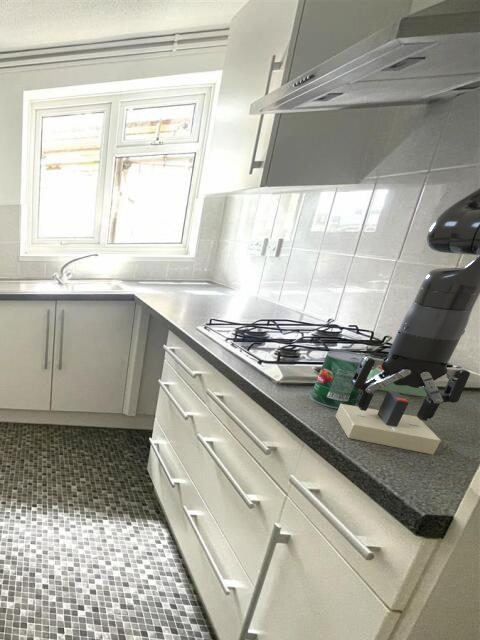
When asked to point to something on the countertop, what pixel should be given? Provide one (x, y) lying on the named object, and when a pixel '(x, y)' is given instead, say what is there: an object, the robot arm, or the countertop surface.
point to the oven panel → (387, 430)
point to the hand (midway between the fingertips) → (390, 413)
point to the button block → (397, 388)
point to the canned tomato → (337, 379)
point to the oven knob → (392, 408)
